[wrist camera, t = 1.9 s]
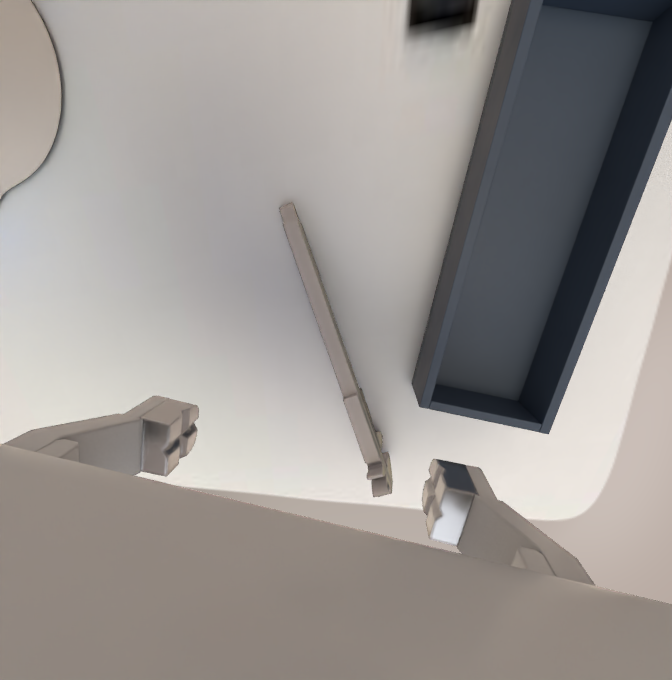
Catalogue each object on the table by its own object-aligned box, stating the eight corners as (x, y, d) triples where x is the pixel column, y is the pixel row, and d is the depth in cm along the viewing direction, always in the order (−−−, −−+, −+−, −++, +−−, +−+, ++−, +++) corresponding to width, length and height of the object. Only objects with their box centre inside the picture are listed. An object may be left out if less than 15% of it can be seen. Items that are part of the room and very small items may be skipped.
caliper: (390, 454, 27) (397, 511, 21) (377, 458, 27) (380, 516, 21) (293, 202, 23) (267, 183, 17) (279, 209, 23) (248, 192, 17)
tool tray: (411, 383, 25) (419, 407, 21) (512, -5, 19) (550, -72, 15) (520, 406, 25) (549, 434, 21) (659, 18, 19) (736, -45, 15)
